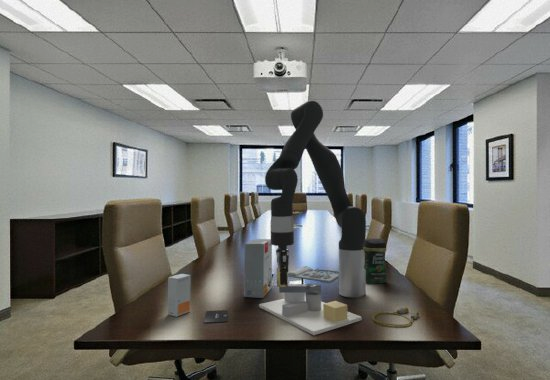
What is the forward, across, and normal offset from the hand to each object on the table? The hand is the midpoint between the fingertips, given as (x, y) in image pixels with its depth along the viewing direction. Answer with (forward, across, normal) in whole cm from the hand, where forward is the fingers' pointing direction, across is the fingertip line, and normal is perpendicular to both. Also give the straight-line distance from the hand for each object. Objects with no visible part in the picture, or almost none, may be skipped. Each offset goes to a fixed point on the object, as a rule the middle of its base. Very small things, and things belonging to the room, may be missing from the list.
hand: (282, 282), depth 110 cm
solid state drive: (+10, -3, +21) cm, 24 cm away
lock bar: (+3, -1, -5) cm, 6 cm away
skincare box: (+9, +1, +34) cm, 35 cm away
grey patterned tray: (+12, +48, -20) cm, 54 cm away
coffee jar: (+11, +33, -43) cm, 55 cm away
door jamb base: (+9, -3, -7) cm, 12 cm away
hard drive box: (+10, +22, +8) cm, 26 cm away
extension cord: (+10, -10, -34) cm, 37 cm away
